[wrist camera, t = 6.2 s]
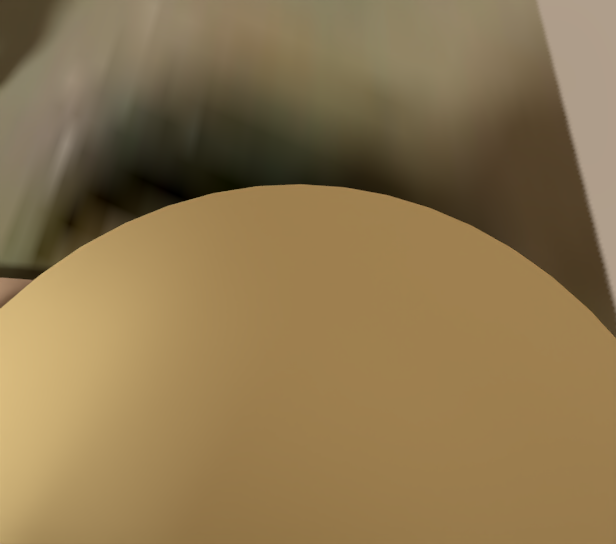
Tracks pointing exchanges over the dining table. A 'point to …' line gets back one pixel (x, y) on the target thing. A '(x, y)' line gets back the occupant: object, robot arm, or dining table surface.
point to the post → (304, 383)
